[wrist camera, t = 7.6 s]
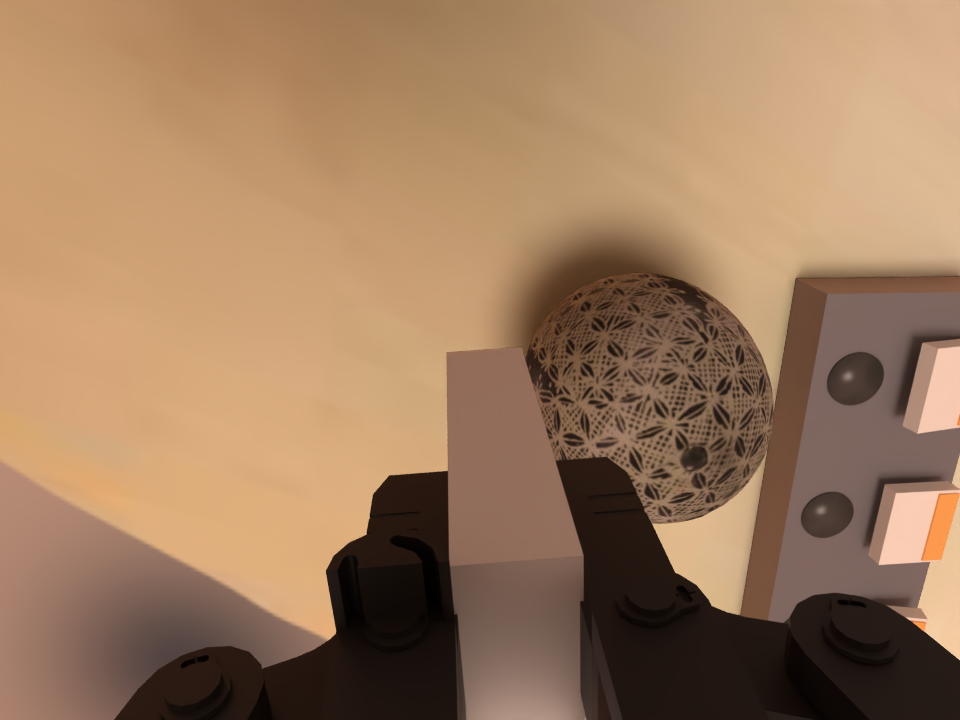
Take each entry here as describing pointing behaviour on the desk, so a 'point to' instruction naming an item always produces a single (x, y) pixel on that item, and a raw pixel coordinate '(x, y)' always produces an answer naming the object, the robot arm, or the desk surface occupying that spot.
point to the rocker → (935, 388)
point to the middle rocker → (913, 522)
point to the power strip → (847, 440)
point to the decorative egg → (654, 390)
